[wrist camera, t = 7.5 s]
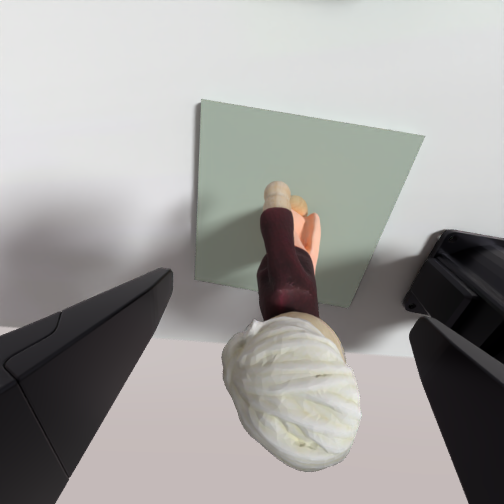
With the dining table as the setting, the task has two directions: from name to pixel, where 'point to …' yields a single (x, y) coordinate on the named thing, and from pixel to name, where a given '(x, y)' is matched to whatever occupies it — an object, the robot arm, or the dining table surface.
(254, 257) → the sage mat
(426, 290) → the robot arm
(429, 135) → the dining table surface
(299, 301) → the grandmother figurine
